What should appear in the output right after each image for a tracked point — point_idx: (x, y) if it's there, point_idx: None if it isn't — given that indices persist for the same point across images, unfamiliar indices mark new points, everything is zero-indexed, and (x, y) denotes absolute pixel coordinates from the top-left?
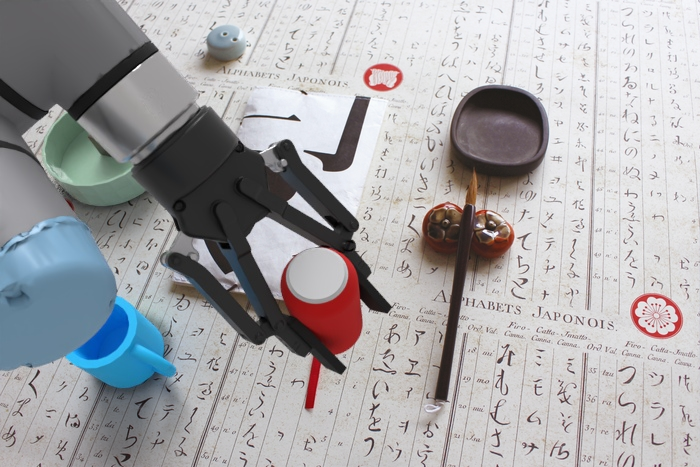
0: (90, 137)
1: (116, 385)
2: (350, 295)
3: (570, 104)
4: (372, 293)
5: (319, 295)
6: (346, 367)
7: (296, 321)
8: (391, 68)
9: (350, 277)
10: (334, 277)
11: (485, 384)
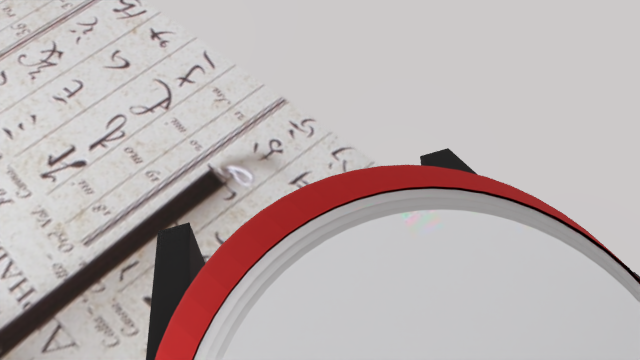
0: None
1: None
2: (312, 187)
3: None
4: (178, 290)
5: (545, 266)
6: (422, 156)
7: None
8: None
9: (233, 268)
10: (348, 329)
11: (134, 148)
